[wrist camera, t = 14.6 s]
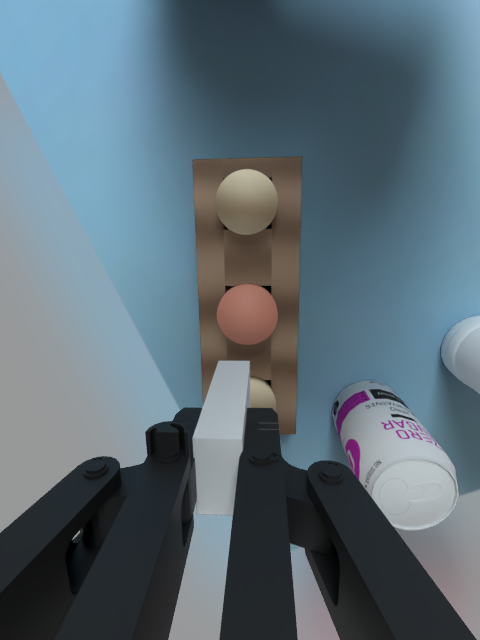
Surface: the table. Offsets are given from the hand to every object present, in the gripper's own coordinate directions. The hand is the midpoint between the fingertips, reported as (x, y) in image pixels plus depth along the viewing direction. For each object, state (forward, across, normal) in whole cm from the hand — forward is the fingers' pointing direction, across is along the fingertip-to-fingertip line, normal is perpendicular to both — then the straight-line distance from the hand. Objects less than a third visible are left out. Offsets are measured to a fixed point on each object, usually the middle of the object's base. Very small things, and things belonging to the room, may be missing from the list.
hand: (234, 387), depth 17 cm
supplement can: (+25, +14, -14) cm, 32 cm away
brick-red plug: (+23, 0, 0) cm, 23 cm away
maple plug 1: (+24, 0, +10) cm, 26 cm away
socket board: (+25, 0, 0) cm, 25 cm away
